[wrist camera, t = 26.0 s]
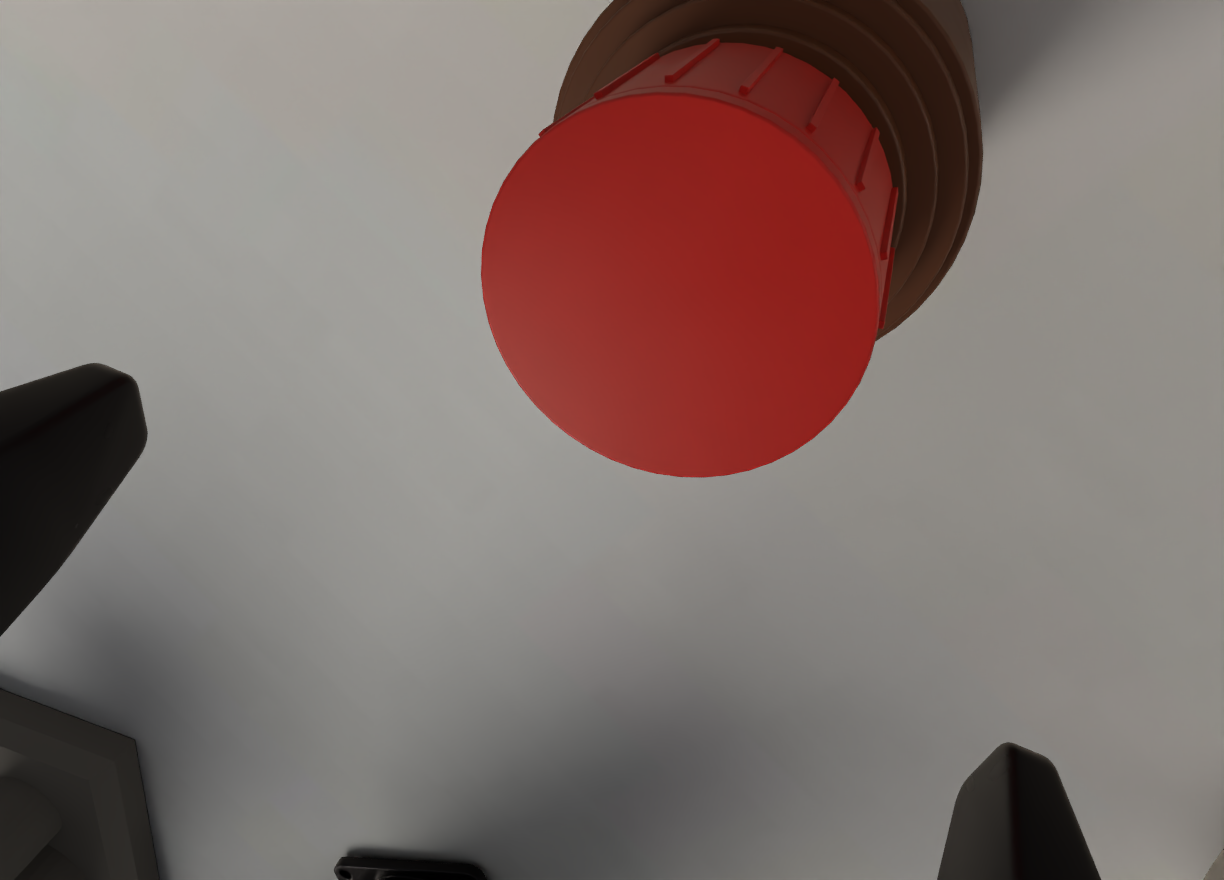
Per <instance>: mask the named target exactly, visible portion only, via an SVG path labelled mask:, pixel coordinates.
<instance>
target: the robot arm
mask: <svg viewBox="0 0 1224 880" xmlns="http://www.w3.org/2000/svg"><path fill="white" fill-rule="evenodd" d="M147 434H148V432H147V426H146V421H145V416H144V412H143V407H142V402H141V397H140V393H139V388H138V385H137V383H136V381H135V380H134V379H133V377H131V376H130V375H128V374H126V373H123V372H121V371H118V370H116V369H114V368H111V367H109V366H106V365H104V364H99V363H90V364H86V365H82V366H79V367H76V368H72V369H69V370H66V371H63V372H60V373H57V374H54V375H51V376H48V377H44V378H41V379H38V380H35V381H32V382H29V383H26V384H23V385H19V386H16V387H13V388H10V389H7V390H4V391H1V392H0V636H1V635H2V634H3V633H4V632H5V631H6V630H7V629H8V627H9V626H10V625H11V624H12V623H13V622H14V621H15V619H16V618H17V617H18V616H19V615H20V614H21V613H22V612H23V610H24V609H25V608H26V607H27V606H28V605H29V604H30V602H31V601H32V600H33V599H34V598H35V597H36V596H37V595H38V593H39V592H40V591H41V590H42V589H43V588H44V587H45V585H46V584H47V583H48V582H49V581H50V579H51V578H52V577H53V576H54V575H55V573H56V572H57V571H58V570H59V569H60V567H61V566H62V565H63V563H64V562H65V561H66V559H67V558H68V557H69V555H70V554H71V553H72V551H73V550H74V549H75V547H76V546H77V544H78V543H79V542H80V540H81V539H82V537H83V536H84V534H85V533H86V532H87V530H88V529H89V527H90V526H91V525H92V523H93V522H94V520H95V519H96V518H97V516H98V515H99V513H100V512H101V511H102V509H103V508H104V506H105V505H106V503H107V502H108V501H109V499H110V498H111V496H112V495H113V494H114V492H115V491H116V489H117V488H118V487H119V485H120V484H121V482H122V481H123V479H124V478H125V477H126V475H127V474H128V472H129V471H130V470H131V468H132V467H133V465H134V464H135V463H136V461H137V460H138V458H139V457H140V455H141V454H142V452H143V450H144V447H145V445H146V441H147ZM334 872H335V874H336V876H337V878H338V879H339V880H487V879H486V877H485V875H484V873H483V872H482V871H481V870H480V869H479V868H478V867H475V866H473V865H469V864H455V863H439V862H423V861H406V860H390V859H374V858H358V857H342V858H340V859H339V861H338V863H337V864H336V866H335V868H334ZM937 880H1101V878H1100V876H1099V873H1098V871H1097V868H1096V866H1095V863H1094V861H1093V858H1092V856H1091V854H1090V851H1089V849H1088V846H1087V844H1086V841H1085V839H1084V836H1083V834H1082V831H1081V829H1080V826H1079V824H1078V821H1077V819H1076V816H1075V814H1074V812H1073V809H1072V807H1071V804H1070V802H1069V799H1068V797H1067V794H1066V792H1065V789H1064V787H1063V784H1062V782H1061V779H1060V777H1059V775H1058V772H1057V770H1056V768H1055V766H1054V765H1053V763H1052V762H1051V761H1050V760H1049V759H1048V758H1046V757H1045V756H1043V755H1041V754H1038V753H1036V752H1033V751H1031V750H1029V749H1026V748H1024V747H1021V746H1019V745H1017V744H1014V743H1010V742H1008V743H1004V744H1001V745H1000V746H999V747H997V748H996V749H995V750H994V751H993V752H992V753H991V755H990V756H989V757H988V758H987V759H986V760H985V761H984V762H983V763H982V764H981V765H980V766H979V767H978V768H977V769H976V770H975V771H974V772H973V773H972V774H971V775H970V776H969V777H968V778H967V779H966V781H965V782H964V784H963V785H962V787H961V789H960V791H959V793H958V796H957V799H956V802H955V806H954V810H953V815H952V819H951V823H950V827H949V831H948V836H947V840H946V844H945V848H944V853H943V857H942V861H941V865H940V869H939V874H938V878H937Z"/></svg>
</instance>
